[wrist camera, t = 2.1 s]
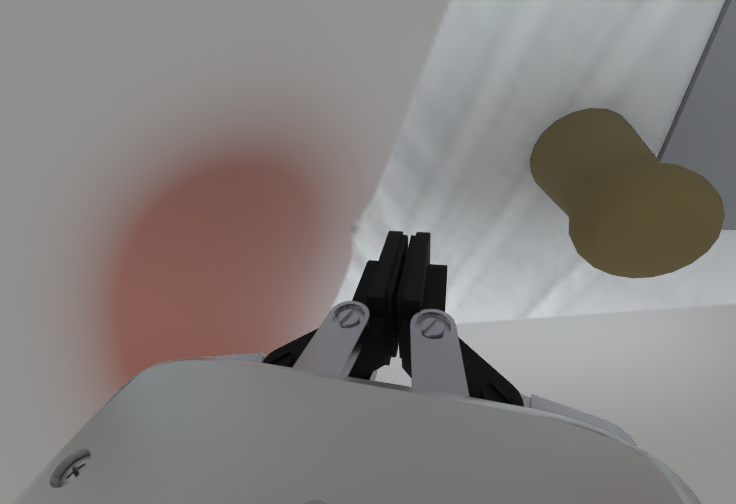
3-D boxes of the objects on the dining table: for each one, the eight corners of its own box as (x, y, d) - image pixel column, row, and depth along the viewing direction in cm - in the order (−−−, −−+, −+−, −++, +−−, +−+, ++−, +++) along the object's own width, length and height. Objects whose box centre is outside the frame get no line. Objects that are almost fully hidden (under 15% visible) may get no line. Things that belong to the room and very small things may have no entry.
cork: (619, 195, 22) (717, 303, 13) (524, 198, 24) (557, 294, 15) (648, 102, 19) (804, 165, 10) (536, 113, 20) (586, 175, 12)
